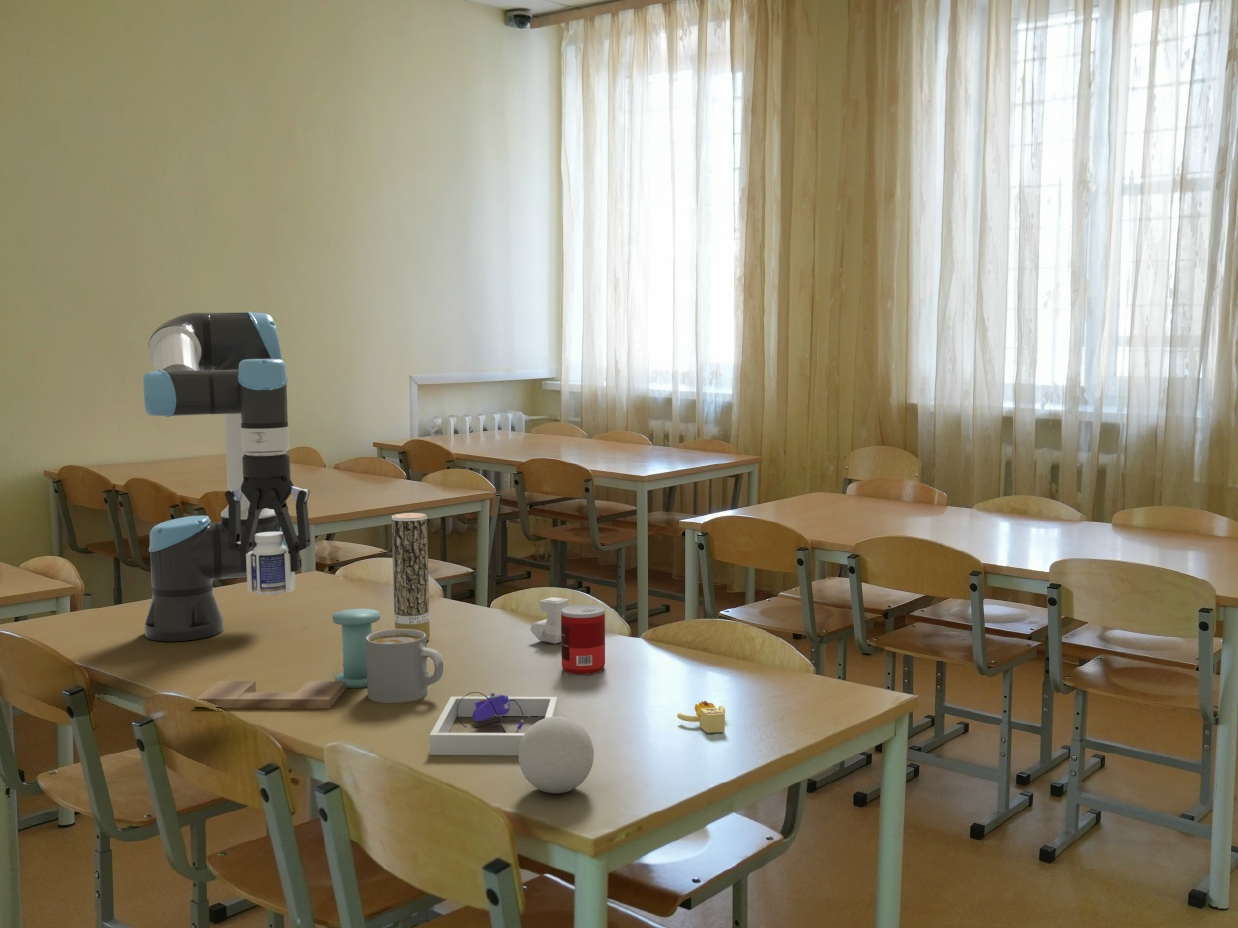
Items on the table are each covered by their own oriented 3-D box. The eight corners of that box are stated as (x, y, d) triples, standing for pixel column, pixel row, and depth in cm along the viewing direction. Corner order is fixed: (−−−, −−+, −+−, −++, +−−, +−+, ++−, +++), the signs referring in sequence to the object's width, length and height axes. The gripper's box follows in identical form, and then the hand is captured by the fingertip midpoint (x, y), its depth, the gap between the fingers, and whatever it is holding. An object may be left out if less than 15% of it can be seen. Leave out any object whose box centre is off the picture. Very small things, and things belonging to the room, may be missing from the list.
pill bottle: (296, 590, 201) (294, 531, 200) (273, 597, 196) (271, 537, 195) (269, 587, 204) (267, 529, 202) (246, 594, 198) (243, 534, 197)
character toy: (722, 695, 190) (740, 710, 182) (722, 715, 190) (739, 731, 182) (674, 699, 187) (690, 715, 180) (674, 719, 188) (690, 736, 180)
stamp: (555, 633, 241) (554, 592, 240) (581, 638, 237) (580, 597, 236) (526, 643, 234) (525, 601, 233) (552, 648, 230) (552, 605, 229)
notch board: (196, 707, 196) (195, 698, 195) (218, 689, 206) (218, 680, 205) (329, 708, 195) (329, 699, 195) (345, 689, 205) (345, 681, 205)
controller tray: (430, 754, 173) (429, 734, 173) (451, 714, 191) (451, 696, 191) (547, 755, 173) (546, 735, 172) (557, 715, 191) (557, 696, 190)
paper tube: (433, 636, 239) (430, 513, 237) (425, 645, 233) (421, 518, 230) (400, 635, 240) (397, 512, 237) (390, 644, 233) (387, 518, 230)
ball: (556, 811, 153) (556, 736, 152) (503, 791, 159) (502, 719, 158) (609, 789, 160) (609, 716, 159) (556, 770, 167) (555, 701, 166)
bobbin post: (329, 687, 206) (327, 619, 204) (341, 674, 214) (339, 608, 212) (375, 687, 206) (373, 619, 204) (386, 674, 214) (384, 608, 212)
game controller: (452, 697, 188) (513, 680, 190) (465, 748, 187) (526, 730, 189) (453, 697, 179) (518, 679, 181) (467, 751, 178) (532, 732, 180)
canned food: (614, 667, 217) (613, 608, 215) (582, 677, 211) (582, 616, 210) (583, 660, 222) (583, 602, 221) (552, 669, 216) (551, 609, 215)
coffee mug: (355, 697, 201) (353, 639, 199) (394, 681, 209) (392, 626, 208) (417, 709, 194) (415, 649, 193) (455, 693, 202) (454, 635, 201)
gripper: (201, 455, 194) (207, 595, 196) (315, 455, 193) (320, 595, 196) (218, 450, 201) (224, 585, 204) (328, 450, 201) (333, 585, 203)
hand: (271, 590), depth 200 cm, fingers closed on pill bottle, 6 cm apart
